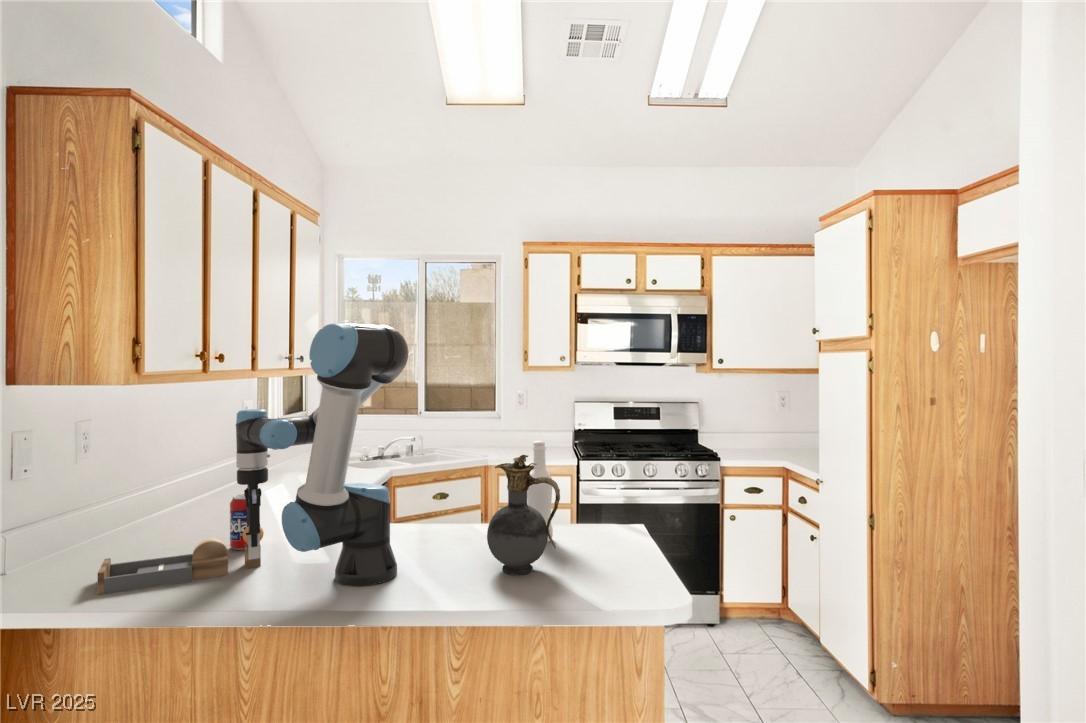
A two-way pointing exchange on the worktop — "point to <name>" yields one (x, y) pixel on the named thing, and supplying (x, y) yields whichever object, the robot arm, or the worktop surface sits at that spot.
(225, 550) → the tan rounded block
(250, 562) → the hollow wooden sleeve
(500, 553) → the pitcher
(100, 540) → the worktop surface
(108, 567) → the backstop
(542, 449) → the bottle
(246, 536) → the ball
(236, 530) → the soda can
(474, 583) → the worktop surface
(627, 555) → the worktop surface
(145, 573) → the tray
